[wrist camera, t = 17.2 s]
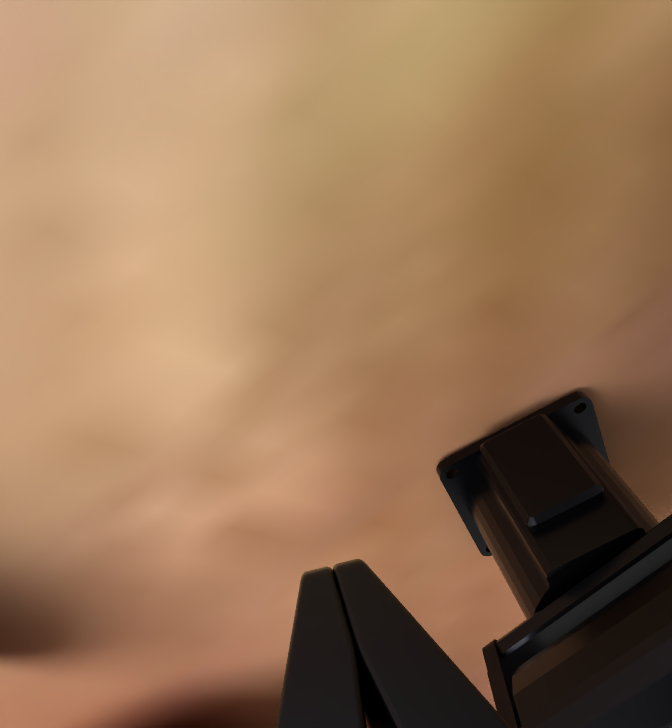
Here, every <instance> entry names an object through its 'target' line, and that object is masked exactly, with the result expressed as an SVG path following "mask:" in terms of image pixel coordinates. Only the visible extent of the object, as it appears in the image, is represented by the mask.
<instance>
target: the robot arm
mask: <svg viewBox="0 0 672 728" xmlns="http://www.w3.org/2000/svg"><path fill="white" fill-rule="evenodd" d="M578 404H579V405H578ZM451 469H452V470H451ZM449 470H451V471H449ZM436 471H437V474H438V476H439V478H440V480H441V482H442V483H443V485H444V487H445V489H446V491H447V492H448V494H449V496H450V498H451V500H452V502H453V503H454V505H455V507H456V509H457V511H458V512H459V514H460V516H461V518H462V520H463V522H464V523H465V525H466V527H467V529H468V531H469V533H470V534H471V536H472V538H473V540H474V542H475V543H476V545H477V547H478V549H479V551H480V553H481V554H482V555H483V556H491V555H493V557H494V559H495V561H496V563H497V565H498V566H499V568H500V570H501V572H502V574H503V576H504V578H505V580H506V581H507V583H508V585H509V587H510V589H511V591H512V593H513V594H514V596H515V598H516V600H517V602H518V604H519V606H520V607H521V609H522V611H523V613H524V615H525V617H526V619H527V620H525V621H524V622H523V623H521V624H520V625H518V626H517V627H516V628H514V629H513V630H512V631H510V632H509V633H507V634H506V635H505V636H503V637H502V638H501V639H499V640H498V641H497V640H493V641H492V642H490V643H489V644H488V645H486V646H485V647H483V648H482V651H483V655H484V659H485V663H486V667H487V671H488V678H489V682H490V686H491V689H492V693H493V697H494V701H495V705H496V709H497V711H496V710H495V709H494V708H493V706H492V705H491V704H490V703H489V702H488V701H487V700H486V699H485V697H484V696H483V695H482V694H481V693H480V692H479V691H478V690H477V688H476V687H475V686H474V685H473V684H472V683H471V682H470V681H469V679H468V678H467V677H466V676H465V675H464V674H463V673H462V671H461V670H460V669H459V668H458V667H457V666H456V665H455V664H454V662H453V661H452V660H451V659H450V658H449V657H448V656H447V655H446V653H445V652H444V651H443V650H442V649H441V648H440V647H439V646H438V644H437V643H436V642H435V641H434V640H433V639H432V638H431V636H430V635H429V634H428V633H427V632H426V631H425V630H424V629H423V627H422V626H421V625H420V624H419V623H418V622H417V621H416V620H415V618H414V617H413V616H412V615H411V614H410V613H409V612H408V611H407V609H406V608H405V607H404V606H403V605H402V604H401V603H400V601H399V600H398V599H397V598H396V597H395V596H394V595H393V594H392V592H391V591H390V590H389V589H388V588H387V587H386V586H385V585H384V583H383V582H382V581H381V580H380V579H379V578H378V577H377V576H376V574H375V573H374V572H373V571H372V570H371V569H370V568H369V566H368V565H367V564H366V563H365V562H364V561H362V560H360V559H354V560H350V561H346V562H343V563H339V564H336V565H335V566H334V567H333V571H332V569H331V568H330V567H323V568H319V569H315V570H311V571H307V572H305V573H304V574H303V575H302V577H301V582H300V588H299V593H298V599H297V605H296V611H295V617H294V623H293V629H292V635H291V641H290V647H289V653H288V659H287V665H286V670H285V676H284V682H283V688H282V694H281V700H280V706H279V712H278V718H277V724H276V728H367V726H368V728H672V514H671V515H670V516H669V517H667V518H666V519H665V520H663V521H662V522H660V523H659V522H658V521H657V520H656V519H655V517H654V516H653V515H652V514H651V513H650V512H649V510H648V509H647V508H646V507H645V506H644V504H643V503H642V502H641V501H640V500H639V499H638V497H637V496H636V495H635V494H634V493H633V491H632V490H631V489H630V488H629V487H628V486H627V484H626V483H625V482H624V481H623V480H622V478H621V477H620V476H619V475H618V474H617V473H616V471H615V470H614V469H613V468H612V467H611V465H610V464H609V460H608V457H607V453H606V450H605V446H604V443H603V439H602V436H601V432H600V429H599V425H598V421H597V418H596V414H595V411H594V407H593V404H592V401H591V400H590V399H589V397H588V396H587V395H586V394H585V393H583V392H575V393H572V394H570V395H568V396H566V397H564V398H562V399H560V400H558V401H557V402H555V403H553V404H551V405H549V406H547V407H545V408H543V409H541V410H539V411H537V412H535V413H533V414H531V415H529V416H527V417H525V418H523V419H522V420H520V421H518V422H516V423H514V424H512V425H510V426H508V427H506V428H504V429H502V430H500V431H498V432H496V433H494V434H492V435H490V436H488V437H487V438H485V439H483V440H481V441H479V442H477V443H475V444H473V445H471V446H469V447H467V448H465V449H463V450H461V451H459V452H457V453H455V454H454V455H452V456H450V457H448V458H446V459H444V460H442V461H441V462H440V463H439V464H438V465H437V469H436ZM448 471H449V472H448ZM366 722H367V725H366Z"/></svg>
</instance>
